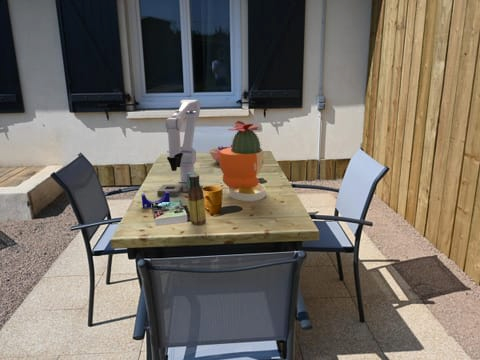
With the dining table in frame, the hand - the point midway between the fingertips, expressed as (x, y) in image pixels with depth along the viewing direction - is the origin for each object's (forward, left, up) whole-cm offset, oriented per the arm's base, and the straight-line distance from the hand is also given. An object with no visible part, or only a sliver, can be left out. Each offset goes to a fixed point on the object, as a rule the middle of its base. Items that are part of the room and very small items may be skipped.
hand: (176, 168), depth 206 cm
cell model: (-55, +18, -11) cm, 58 cm away
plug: (+1, +8, -10) cm, 13 cm away
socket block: (+6, -2, -10) cm, 12 cm away
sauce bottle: (+44, +19, -11) cm, 50 cm away
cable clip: (+24, -4, -11) cm, 27 cm away
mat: (+1, +8, -10) cm, 13 cm away
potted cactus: (+8, +34, -11) cm, 37 cm away
